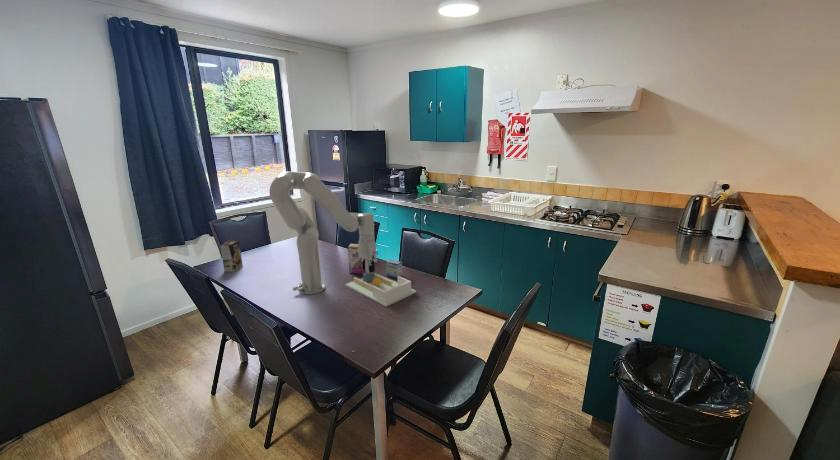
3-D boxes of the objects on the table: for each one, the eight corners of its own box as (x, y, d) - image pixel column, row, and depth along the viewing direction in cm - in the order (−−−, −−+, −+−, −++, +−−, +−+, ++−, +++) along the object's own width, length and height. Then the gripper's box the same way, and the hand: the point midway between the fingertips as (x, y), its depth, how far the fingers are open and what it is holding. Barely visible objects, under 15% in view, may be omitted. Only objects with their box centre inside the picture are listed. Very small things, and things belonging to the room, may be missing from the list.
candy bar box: (349, 273, 195) (347, 246, 190) (351, 270, 200) (350, 243, 195) (368, 274, 194) (367, 246, 189) (370, 271, 198) (369, 244, 194)
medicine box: (386, 276, 191) (385, 261, 189) (390, 273, 195) (390, 259, 193) (398, 278, 188) (397, 264, 186) (402, 276, 192) (402, 261, 189)
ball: (376, 288, 174) (376, 280, 173) (370, 285, 177) (370, 277, 176) (383, 285, 177) (382, 277, 176) (377, 283, 180) (377, 275, 179)
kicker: (366, 283, 178) (365, 256, 174) (362, 282, 180) (361, 254, 176) (375, 280, 182) (374, 253, 178) (371, 278, 185) (370, 252, 180)
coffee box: (235, 271, 198) (230, 245, 193) (224, 271, 198) (219, 245, 193) (243, 265, 206) (239, 240, 202) (232, 265, 206) (228, 240, 202)
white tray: (385, 306, 158) (385, 295, 157) (345, 285, 180) (344, 275, 178) (416, 292, 172) (416, 281, 170) (375, 274, 193) (375, 264, 192)
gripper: (351, 235, 178) (353, 268, 183) (371, 242, 166) (373, 277, 171) (362, 232, 183) (364, 264, 188) (383, 239, 172) (384, 272, 177)
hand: (368, 270), depth 180 cm, fingers open, 4 cm apart
